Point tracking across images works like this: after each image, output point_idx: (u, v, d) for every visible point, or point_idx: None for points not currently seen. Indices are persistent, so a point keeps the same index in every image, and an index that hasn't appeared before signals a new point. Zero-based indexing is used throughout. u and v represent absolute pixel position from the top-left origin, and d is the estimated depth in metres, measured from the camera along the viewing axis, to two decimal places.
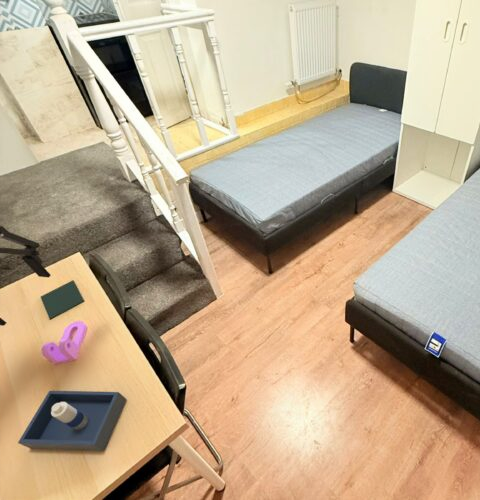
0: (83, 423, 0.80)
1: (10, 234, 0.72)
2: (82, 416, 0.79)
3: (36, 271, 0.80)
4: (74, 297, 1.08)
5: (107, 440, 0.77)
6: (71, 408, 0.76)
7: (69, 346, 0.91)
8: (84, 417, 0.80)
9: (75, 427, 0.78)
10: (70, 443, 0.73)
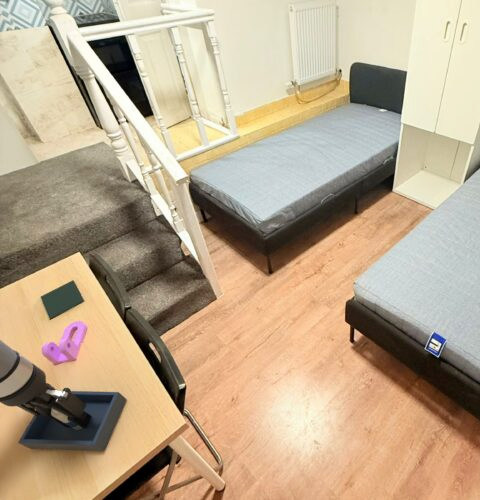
0: None
1: (63, 404, 0.69)
2: None
3: None
4: (74, 297, 1.08)
5: (107, 440, 0.77)
6: None
7: (69, 346, 0.91)
8: None
9: (75, 427, 0.78)
10: (70, 443, 0.73)
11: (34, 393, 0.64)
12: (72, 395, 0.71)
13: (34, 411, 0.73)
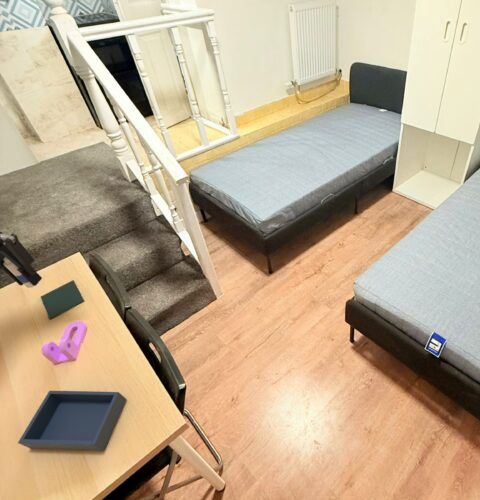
0: None
1: (10, 248, 0.81)
2: None
3: None
4: (74, 297, 1.08)
5: (107, 440, 0.77)
6: None
7: (69, 346, 0.91)
8: None
9: (26, 283, 0.91)
10: (70, 443, 0.73)
11: None
12: (19, 243, 0.83)
13: None
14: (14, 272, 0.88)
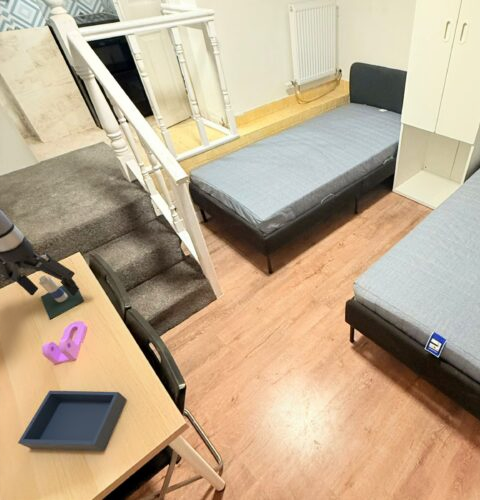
0: (63, 297, 1.07)
1: (47, 265, 0.95)
2: (63, 292, 1.07)
3: None
4: (74, 297, 1.08)
5: (107, 440, 0.77)
6: (54, 282, 1.04)
7: (69, 346, 0.91)
8: (64, 293, 1.08)
9: (57, 299, 1.06)
10: (70, 443, 0.73)
11: (24, 254, 0.92)
12: (54, 260, 0.97)
13: (8, 275, 0.99)
14: (48, 289, 1.03)
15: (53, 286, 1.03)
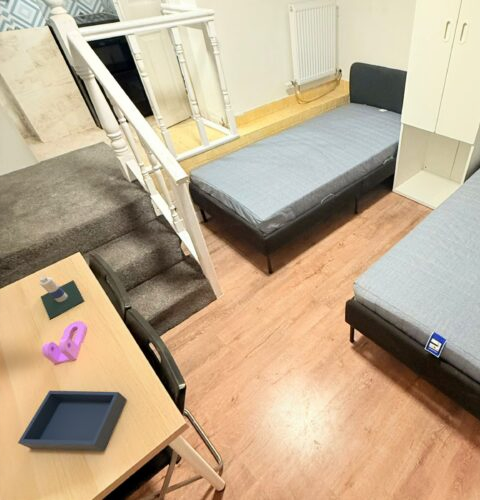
0: (63, 297, 1.07)
1: None
2: (63, 292, 1.07)
3: None
4: (74, 297, 1.08)
5: (107, 440, 0.77)
6: (54, 282, 1.04)
7: (69, 346, 0.91)
8: (64, 293, 1.08)
9: (57, 299, 1.06)
10: (70, 443, 0.73)
11: None
12: None
13: None
14: (48, 289, 1.03)
15: (53, 286, 1.03)
